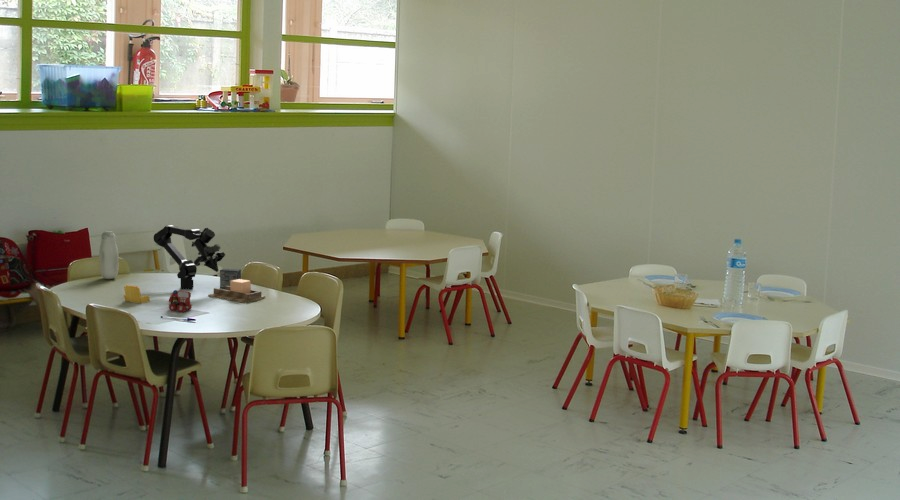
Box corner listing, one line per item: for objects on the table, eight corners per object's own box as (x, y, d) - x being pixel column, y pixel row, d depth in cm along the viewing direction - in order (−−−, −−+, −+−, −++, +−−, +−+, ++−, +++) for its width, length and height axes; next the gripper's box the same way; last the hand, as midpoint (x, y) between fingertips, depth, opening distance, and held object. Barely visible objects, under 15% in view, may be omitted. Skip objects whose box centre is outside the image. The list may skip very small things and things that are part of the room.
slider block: (230, 295, 529) (230, 280, 528) (239, 293, 535) (239, 278, 533) (241, 297, 525) (241, 282, 524) (250, 295, 531) (250, 280, 530)
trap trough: (208, 296, 531) (208, 289, 530) (228, 291, 545) (228, 284, 544) (245, 302, 518) (245, 295, 517) (265, 297, 532) (265, 290, 531)
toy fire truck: (174, 308, 501) (173, 288, 499) (194, 310, 496) (194, 290, 495) (165, 310, 494) (165, 290, 493) (186, 313, 490) (186, 292, 488)
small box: (241, 287, 558) (241, 268, 557) (238, 289, 552) (238, 270, 550) (223, 286, 559) (223, 268, 558) (219, 288, 553) (219, 270, 551)
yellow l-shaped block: (150, 301, 516) (150, 283, 514) (139, 304, 507) (138, 286, 506) (134, 299, 519) (134, 281, 518) (122, 302, 511) (122, 284, 509)
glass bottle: (104, 276, 575) (103, 229, 570) (121, 277, 574) (120, 230, 569) (96, 280, 565) (95, 231, 560) (114, 280, 564) (113, 232, 559)
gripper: (197, 242, 528) (212, 265, 524) (222, 237, 543) (237, 260, 540) (187, 254, 534) (201, 277, 530) (212, 249, 549) (227, 271, 546)
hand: (217, 271), depth 536 cm, fingers closed
